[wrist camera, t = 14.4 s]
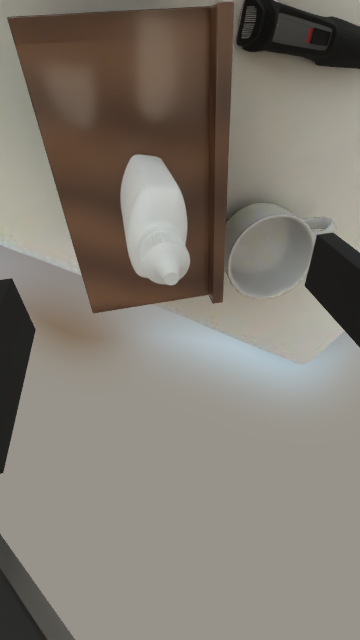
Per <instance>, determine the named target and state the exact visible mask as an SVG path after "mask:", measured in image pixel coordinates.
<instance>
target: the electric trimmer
mask: <svg viewBox="0 0 360 640" xmlns="http://www.w3.org/2000/svg"><path fill="white" fill-rule="evenodd" d="M239 21H240V23H239V26H238V31H237V35H236V36H237V37H236V39H237V44H238V45H239V46H242V48H243V49H244V50H246V51H249V52H258V51H270V52H277V53H284V54H290V55H296V56H300V57H304V58H307V59H311V60H312V61H314V63H315V64H316V65H320V66H330V67H344V68H358V69H360V27H359V26H357V25H354V24H352V23H349V22H347V21H344V20H342V19H339V18H335V17H322V16H318V15H314V14H311V13H308V12H305V11H302V10H299V9H296V8H293V7H290V6H287V5H284V4H281V3H278V2H275V1H273V0H245V2H244V4H243V6H242V11H241V15H240V20H239Z"/></svg>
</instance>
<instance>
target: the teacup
mask: <svg viewBox="0 0 360 640" xmlns="http://www.w3.org/2000/svg"><path fill="white" fill-rule="evenodd" d="M311 229H324V230H321V231H312V230H311ZM332 232H333V233H334V234H336V224H335V222H334V221H333V220H332V219H330V218H327V217H313V218H307V219H301V218H299V217H298V216H295V215H293V214H292V213H291V212H289V211H288V210H286V209H284V208H282V207H280V206H278V205H275V204H271V203H256V204H252V205H249V206H247V207H244V208H243V209H241V210H239V211H238V212H237V213H235V214H234V215H233V216H232V217H231V218H230V219H229V220H228V222H227V223H226V231H225V257H224V269H225V271H226V273H227V275H228V277H229V280H230V282H231V284H232V285H233V287H234V288H235V289H236V290H237V291H238V292H239V293H241V294H242V295H244V296H246V297H249V298H253V299H270V298H274V297H277V296H280V295H282V294H284V293H286V292H288V291H289V290H291V289H292V288H294V287H295V286H296V285H298V284H299V283H300V282H301V280H302V279H303V278H304V277H305V276H306V274H307V273H308V270H309V266H310V261H311V257H312V253H313V249H314V245H315V240H316V236H317V235H318V234H325V233H332Z"/></svg>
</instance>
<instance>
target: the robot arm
mask: <svg viewBox="0 0 360 640" xmlns="http://www.w3.org/2000/svg"><path fill="white" fill-rule="evenodd" d="M305 287H306V288H307V289H308V290H309V291H310V292H311V293H312V295H313V296H314V297H315V298H316V299H317V300H318V301H319V302H320V304H321V305H322V306H323V307H324V308H325V309H326V310H327V311H328V312H329V314H330V315H331V316H332V317H333V318H334V319H335V320H336V321H337V323H338V324H339V325H340V326H341V327H342V328H343V329H344V330H345V331H346V332H347V334H348V335H349V336H350V337H351V338H352V339H353V340H354V341H355V343H356V344H357V345H358V346H359V347H360V253H359V252H358V251H357V250H355V249H354V248H353V247H351V246H350V245H349V244H347V243H346V242H345V241H343V240H342V239H341V238H339V237H338V236H337V235H336V234H334V233H333V232H332V233H325V234H318V235H317V236H316V240H315V245H314V249H313V253H312V257H311V261H310V266H309V270H308V274H307V278H306V282H305ZM34 334H35V328H34V325H33V323H32V321H31V319H30V317H29V314H28V312H27V310H26V308H25V306H24V304H23V302H22V299H21V297H20V295H19V293H18V290H17V288H16V286H15V284H14V282H13V280H12V279H4V280H0V474H1V473H3V471H4V467H5V462H6V457H7V453H8V449H9V445H10V440H11V436H12V431H13V427H14V423H15V418H16V414H17V409H18V405H19V400H20V396H21V392H22V387H23V383H24V378H25V374H26V369H27V365H28V361H29V356H30V352H31V347H32V343H33V338H34ZM0 640H75V639H74V638H73V636H72V635H71V633H70V632H69V631H68V629H67V628H66V626H65V625H64V623H63V622H62V621H61V619H60V618H59V616H58V615H57V614H56V612H55V611H54V609H53V608H52V607H51V605H50V604H49V602H48V601H47V600H46V598H45V597H44V595H43V594H42V593H41V591H40V590H39V588H38V587H37V585H36V584H35V582H34V581H33V580H32V578H31V577H30V575H29V574H28V573H27V571H26V570H25V568H24V567H23V566H22V564H21V563H20V561H19V560H18V558H17V557H16V556H15V554H14V553H13V551H12V550H11V549H10V547H9V546H8V544H7V543H6V542H5V540H4V539H3V538H2V536H1V534H0Z"/></svg>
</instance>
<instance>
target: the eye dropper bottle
mask: <svg viewBox="0 0 360 640" xmlns="http://www.w3.org/2000/svg"><path fill="white" fill-rule="evenodd" d="M120 202H121V211H122V218H123V224H124V231H125V237H126V243H127V249H128V254H129V258H130V261H131V264H132V266H133V268H134V270H135V272H136V273H137V274H138V275H139V276H141V277H144V278H149V279H150V280H151V281H153V282H155V283H159V284H167V285H175V284H176V283H177V282H178V281H179V280H180V279H181V278H182V277H183V276H184V275H185V274H186V273H187V271H188V269H189V265H190V256H189V252H188V250H187V248H186V246H185V243H186V238H187V214H186V207H185V203H184V199H183V196H182V193H181V190H180V189H179V187H178V185H177V183H176V182H175V180H174V178H173V177H172V175H171V173H170V172H169V170H168V169H167V167H166V165H165V164H164V162H163V161H162V159H161V158H159V157H156V156H149V155H140V154H137V155H134V156H133V157H132V158H131V159H130V160H129V162H128V164H127V167H126V169H125V172H124V175H123V179H122V184H121V193H120Z"/></svg>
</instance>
